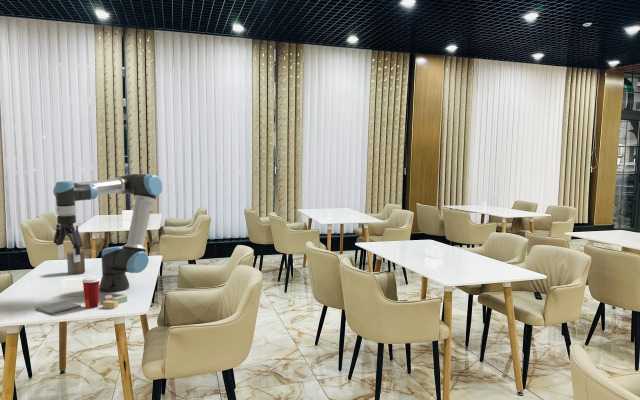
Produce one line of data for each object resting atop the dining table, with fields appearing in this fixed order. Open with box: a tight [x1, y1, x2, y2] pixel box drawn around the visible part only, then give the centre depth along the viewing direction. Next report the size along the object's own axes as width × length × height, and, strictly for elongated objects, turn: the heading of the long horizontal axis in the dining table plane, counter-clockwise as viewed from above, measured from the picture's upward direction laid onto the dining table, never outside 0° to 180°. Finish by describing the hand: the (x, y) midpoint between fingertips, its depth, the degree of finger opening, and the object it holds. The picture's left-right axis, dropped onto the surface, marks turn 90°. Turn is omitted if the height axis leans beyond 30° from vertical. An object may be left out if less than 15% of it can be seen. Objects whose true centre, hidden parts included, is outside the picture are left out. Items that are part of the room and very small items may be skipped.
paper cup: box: [81, 276, 101, 309], centre depth 226 cm, size 8×8×14 cm
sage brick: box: [112, 294, 128, 305], centre depth 233 cm, size 6×3×3 cm, turn 145°
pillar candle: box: [66, 249, 86, 275], centre depth 295 cm, size 10×10×15 cm
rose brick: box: [104, 294, 113, 301], centre depth 234 cm, size 6×3×3 cm, turn 28°
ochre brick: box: [102, 300, 119, 310], centre depth 226 cm, size 6×3×3 cm, turn 79°
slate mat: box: [34, 300, 82, 316], centre depth 224 cm, size 14×14×1 cm
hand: (68, 260), depth 219 cm, fingers open, 13 cm apart
